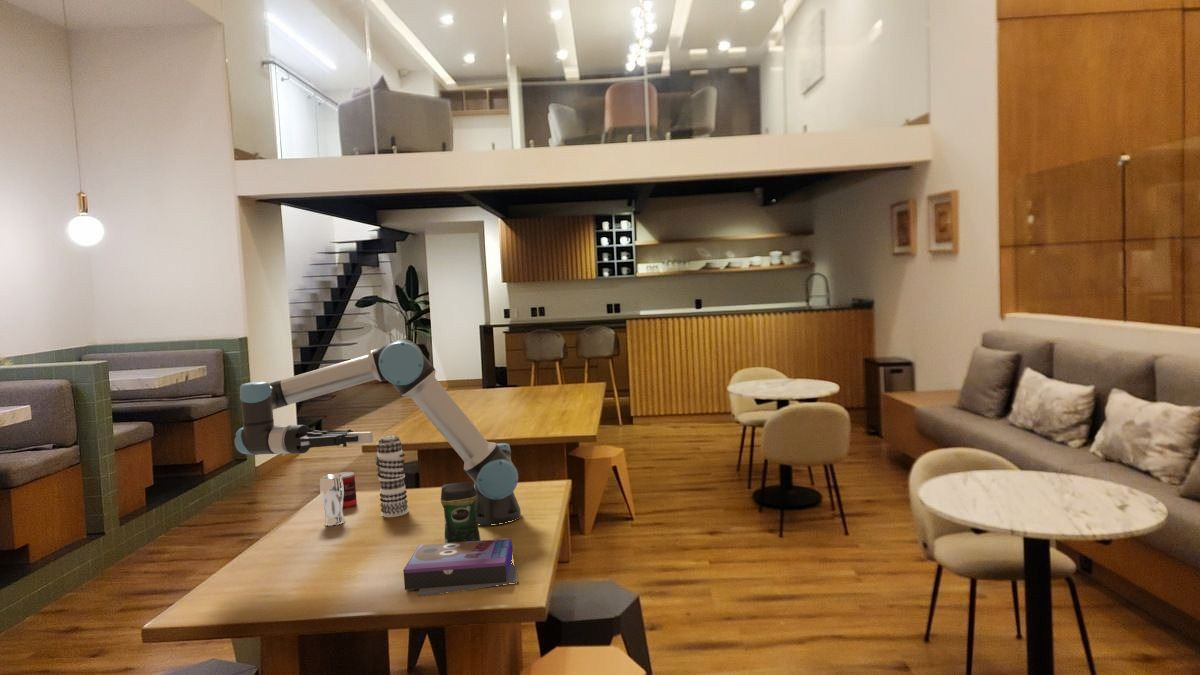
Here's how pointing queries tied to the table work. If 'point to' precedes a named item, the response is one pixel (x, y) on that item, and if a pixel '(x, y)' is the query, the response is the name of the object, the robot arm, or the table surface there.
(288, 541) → the table surface
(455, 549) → the cereal box
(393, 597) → the table surface
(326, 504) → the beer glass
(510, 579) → the flat gray object
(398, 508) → the decorative candle
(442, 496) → the coffee jar
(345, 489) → the canned food
